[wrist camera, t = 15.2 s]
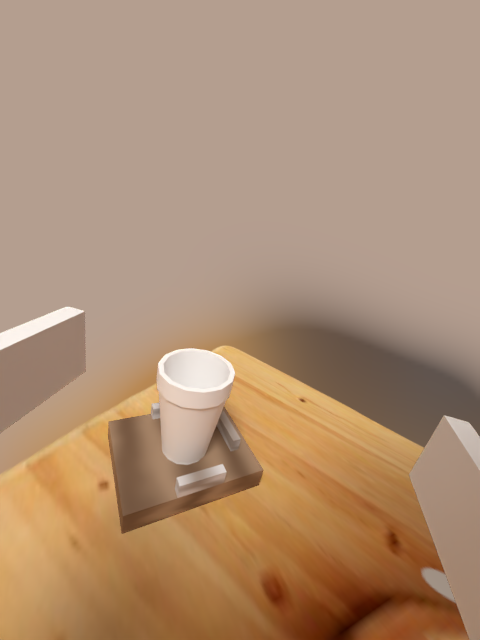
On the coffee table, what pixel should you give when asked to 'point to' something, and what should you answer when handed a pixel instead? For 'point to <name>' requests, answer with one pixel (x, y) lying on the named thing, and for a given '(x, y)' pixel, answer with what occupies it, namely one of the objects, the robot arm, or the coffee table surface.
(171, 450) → the foam cup
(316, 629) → the coffee table surface
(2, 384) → the robot arm
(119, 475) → the shelf
